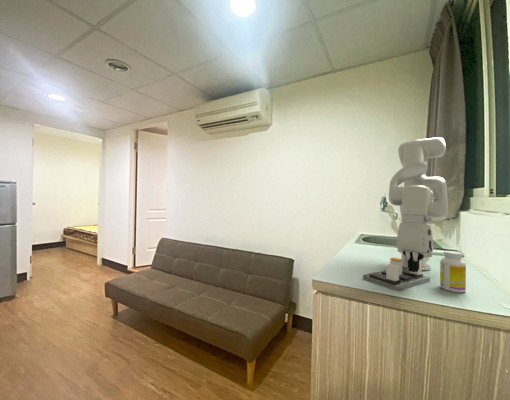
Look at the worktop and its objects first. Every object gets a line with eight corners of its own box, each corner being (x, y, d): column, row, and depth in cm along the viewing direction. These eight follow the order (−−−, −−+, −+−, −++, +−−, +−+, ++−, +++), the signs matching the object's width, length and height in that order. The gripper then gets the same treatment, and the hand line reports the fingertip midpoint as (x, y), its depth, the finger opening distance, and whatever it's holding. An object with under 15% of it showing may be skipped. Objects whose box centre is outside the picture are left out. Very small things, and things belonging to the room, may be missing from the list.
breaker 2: (412, 271, 89) (413, 259, 89) (421, 274, 86) (421, 261, 86) (409, 272, 88) (409, 259, 88) (418, 275, 85) (418, 261, 85)
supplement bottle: (470, 292, 76) (471, 254, 76) (456, 294, 74) (457, 255, 74) (448, 284, 82) (449, 249, 82) (435, 286, 80) (435, 250, 80)
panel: (394, 271, 97) (395, 266, 97) (429, 281, 85) (429, 275, 85) (362, 278, 87) (363, 272, 87) (397, 291, 76) (397, 284, 76)
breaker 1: (390, 277, 82) (390, 263, 82) (398, 280, 79) (399, 265, 79) (386, 278, 81) (386, 264, 81) (394, 281, 78) (395, 266, 78)
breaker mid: (394, 272, 88) (394, 257, 88) (402, 274, 85) (402, 259, 85) (390, 273, 87) (390, 258, 87) (398, 275, 84) (398, 260, 84)
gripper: (444, 221, 76) (443, 276, 76) (398, 218, 89) (397, 265, 89) (433, 221, 72) (432, 279, 72) (387, 218, 86) (386, 267, 85)
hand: (413, 271), depth 80 cm, fingers closed
